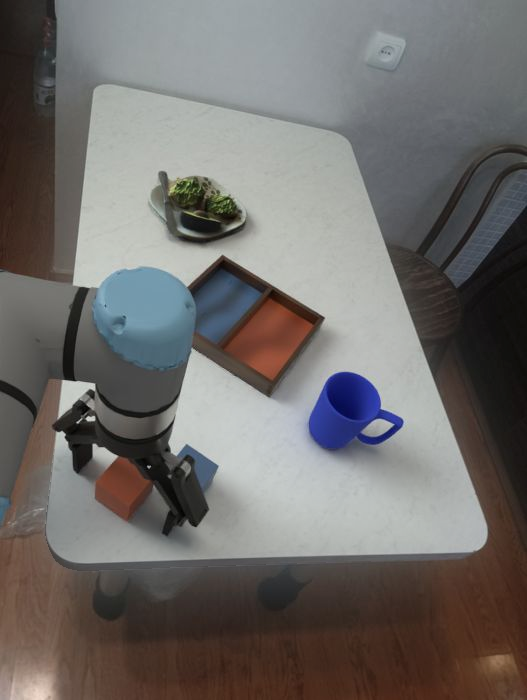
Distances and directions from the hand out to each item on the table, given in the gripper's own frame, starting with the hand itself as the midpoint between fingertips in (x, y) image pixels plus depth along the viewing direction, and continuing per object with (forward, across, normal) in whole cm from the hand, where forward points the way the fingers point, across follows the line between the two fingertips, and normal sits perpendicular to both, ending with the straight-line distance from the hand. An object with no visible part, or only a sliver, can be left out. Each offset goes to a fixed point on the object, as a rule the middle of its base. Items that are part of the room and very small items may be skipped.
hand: (126, 494), depth 67 cm
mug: (0, -19, -25) cm, 32 cm away
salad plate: (0, +25, -51) cm, 57 cm away
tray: (0, +3, -33) cm, 34 cm away
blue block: (0, -5, -5) cm, 7 cm away
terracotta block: (0, 0, 0) cm, 0 cm away
